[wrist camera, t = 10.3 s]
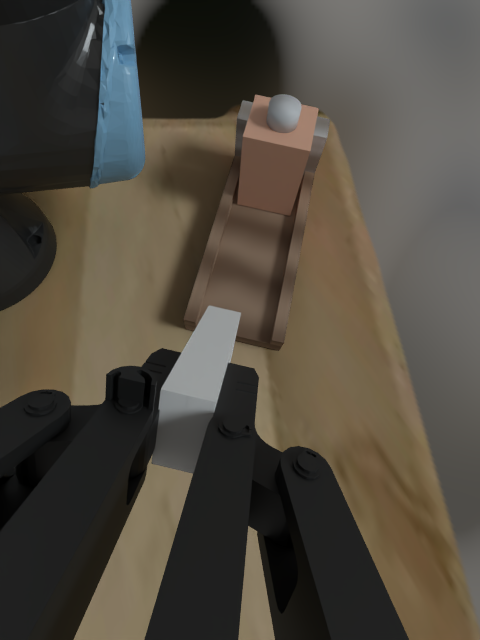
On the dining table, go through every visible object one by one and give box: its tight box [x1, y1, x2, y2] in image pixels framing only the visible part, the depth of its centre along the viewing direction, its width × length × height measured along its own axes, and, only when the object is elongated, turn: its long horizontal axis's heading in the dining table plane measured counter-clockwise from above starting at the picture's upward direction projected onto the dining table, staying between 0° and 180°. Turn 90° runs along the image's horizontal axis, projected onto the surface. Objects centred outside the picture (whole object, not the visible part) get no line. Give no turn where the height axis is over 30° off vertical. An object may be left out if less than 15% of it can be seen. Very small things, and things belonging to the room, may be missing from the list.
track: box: [183, 101, 330, 351], centre depth 35 cm, size 25×10×8 cm, turn 167°
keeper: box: [237, 94, 318, 216], centre depth 34 cm, size 6×6×11 cm
